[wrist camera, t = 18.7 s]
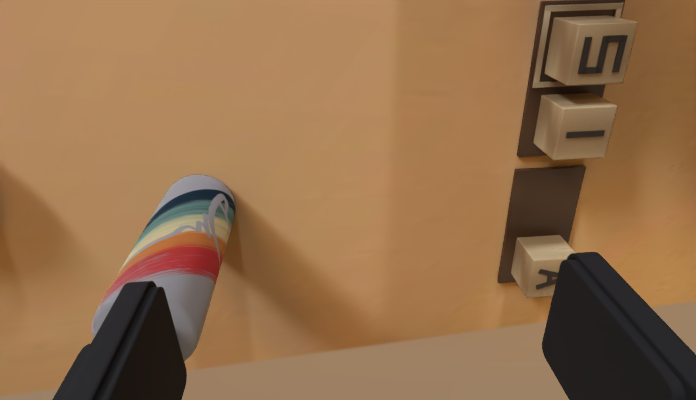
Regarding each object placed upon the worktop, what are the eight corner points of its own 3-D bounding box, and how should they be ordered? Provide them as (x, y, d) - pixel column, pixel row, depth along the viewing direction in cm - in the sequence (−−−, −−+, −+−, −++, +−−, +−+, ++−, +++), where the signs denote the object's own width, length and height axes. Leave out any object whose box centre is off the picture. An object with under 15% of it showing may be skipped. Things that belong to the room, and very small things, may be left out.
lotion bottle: (250, 204, 39) (202, 412, 21) (206, 244, 41) (126, 468, 23) (197, 159, 37) (93, 349, 19) (151, 203, 38) (16, 416, 21)
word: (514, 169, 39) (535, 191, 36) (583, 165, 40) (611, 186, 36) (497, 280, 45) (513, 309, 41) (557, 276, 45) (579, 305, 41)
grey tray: (540, 1, 33) (568, 7, 29) (622, -2, 33) (660, 3, 30) (516, 155, 39) (538, 176, 35) (586, 151, 39) (615, 171, 35)
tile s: (553, 17, 33) (579, 24, 30) (607, 15, 33) (639, 22, 30) (543, 73, 35) (567, 86, 32) (595, 71, 35) (624, 83, 32)
